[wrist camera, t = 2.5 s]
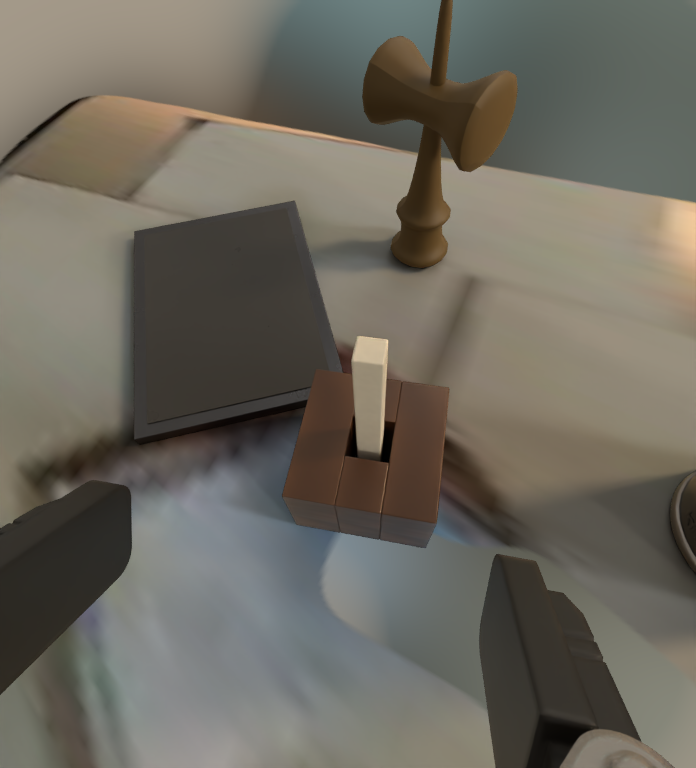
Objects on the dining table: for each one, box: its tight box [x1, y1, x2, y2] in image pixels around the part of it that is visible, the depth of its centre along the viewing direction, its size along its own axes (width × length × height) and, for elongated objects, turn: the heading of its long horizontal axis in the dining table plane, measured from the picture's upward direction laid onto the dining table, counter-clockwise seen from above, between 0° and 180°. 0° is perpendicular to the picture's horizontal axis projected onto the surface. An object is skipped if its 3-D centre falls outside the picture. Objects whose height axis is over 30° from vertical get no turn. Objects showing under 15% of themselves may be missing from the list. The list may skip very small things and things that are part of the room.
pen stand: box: [282, 369, 449, 548], centre depth 30 cm, size 9×9×6 cm
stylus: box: [351, 336, 388, 462], centre depth 26 cm, size 1×1×15 cm
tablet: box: [134, 201, 343, 445], centre depth 41 cm, size 16×23×1 cm
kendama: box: [362, 0, 517, 268], centre depth 35 cm, size 6×10×20 cm, turn 46°
